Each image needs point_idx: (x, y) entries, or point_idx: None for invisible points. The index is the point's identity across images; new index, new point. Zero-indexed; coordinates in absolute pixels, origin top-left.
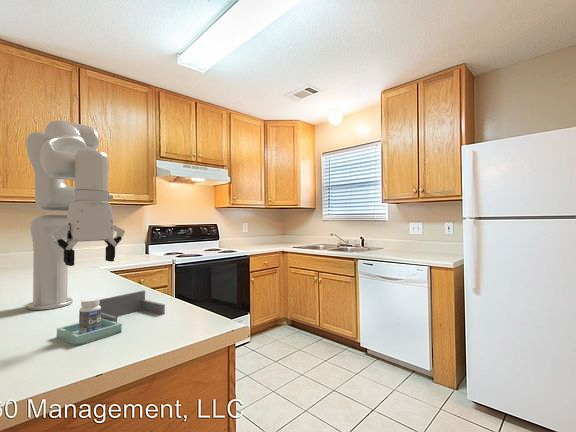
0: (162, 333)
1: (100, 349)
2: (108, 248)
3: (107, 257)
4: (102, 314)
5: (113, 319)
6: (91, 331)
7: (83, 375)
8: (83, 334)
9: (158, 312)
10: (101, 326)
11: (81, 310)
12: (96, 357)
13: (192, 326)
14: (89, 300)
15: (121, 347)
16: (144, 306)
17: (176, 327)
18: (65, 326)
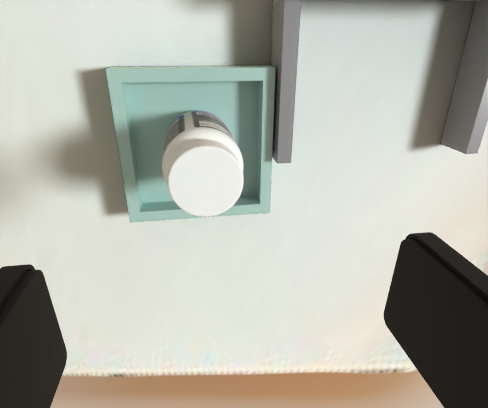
0: (313, 288)
1: (168, 274)
2: (485, 391)
3: (413, 289)
4: (281, 77)
5: (276, 160)
6: (177, 210)
7: (95, 362)
8: (150, 218)
9: (448, 124)
10: (249, 115)
11: (164, 177)
12: (143, 308)
13: (382, 299)
14: (195, 196)
15: (205, 296)
16: (483, 20)
17: (361, 277)
18: (136, 73)
